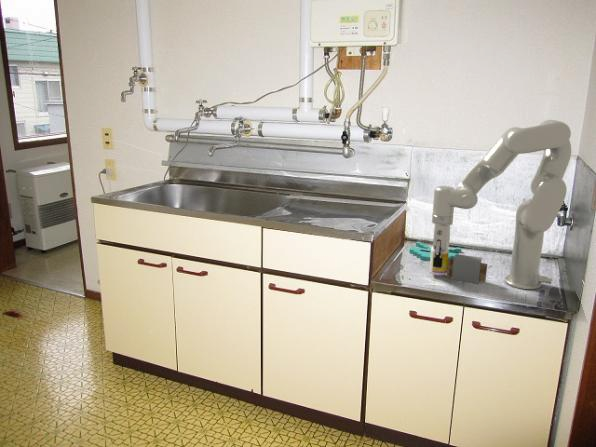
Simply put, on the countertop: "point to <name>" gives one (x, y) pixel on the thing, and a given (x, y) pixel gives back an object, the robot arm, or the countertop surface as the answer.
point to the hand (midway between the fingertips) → (438, 263)
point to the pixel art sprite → (429, 251)
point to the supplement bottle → (444, 263)
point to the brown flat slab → (481, 276)
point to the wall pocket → (466, 269)
